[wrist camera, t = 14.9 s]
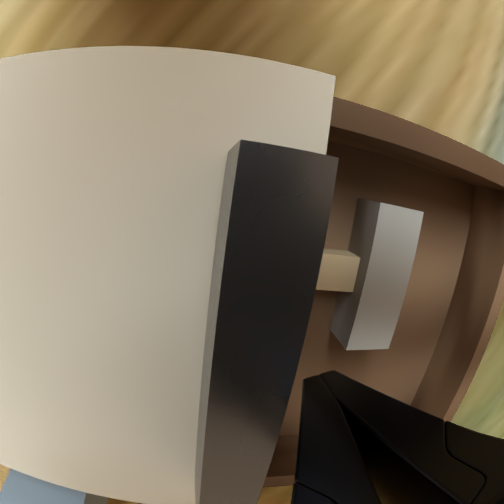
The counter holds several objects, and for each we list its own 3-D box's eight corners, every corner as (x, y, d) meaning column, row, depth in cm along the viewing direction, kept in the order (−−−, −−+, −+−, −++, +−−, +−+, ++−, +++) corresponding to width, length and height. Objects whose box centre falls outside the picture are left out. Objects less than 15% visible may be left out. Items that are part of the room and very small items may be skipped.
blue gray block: (29, 431, 12) (-6, 506, 7) (97, 450, 13) (76, 537, 7) (47, 474, 13) (25, 542, 8) (109, 490, 14) (97, 565, 8)
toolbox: (109, 96, 9) (73, 68, 6) (473, 172, 12) (527, 178, 9) (104, 419, 13) (89, 472, 9) (400, 418, 15) (429, 456, 12)
